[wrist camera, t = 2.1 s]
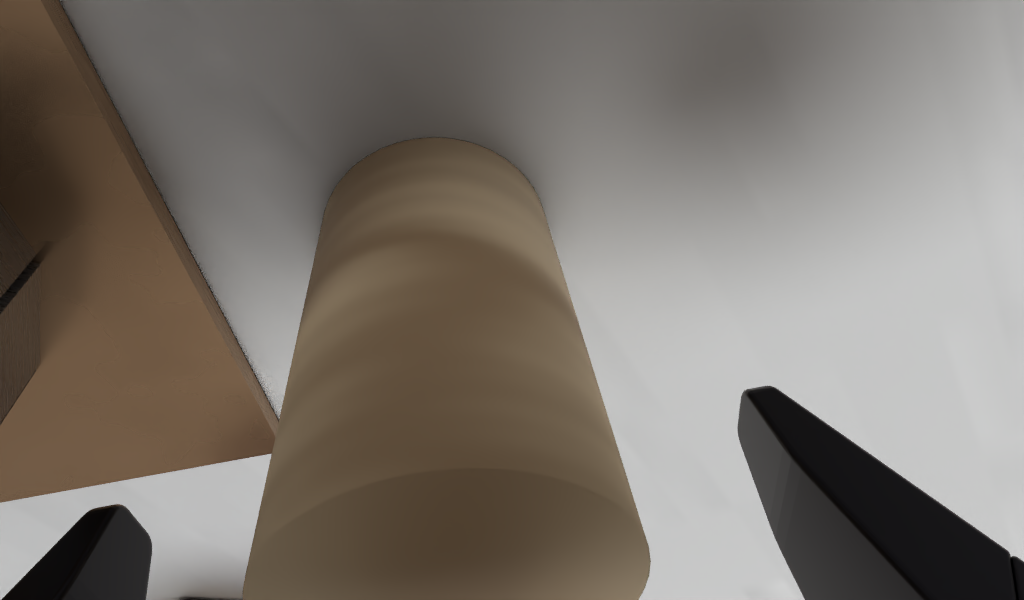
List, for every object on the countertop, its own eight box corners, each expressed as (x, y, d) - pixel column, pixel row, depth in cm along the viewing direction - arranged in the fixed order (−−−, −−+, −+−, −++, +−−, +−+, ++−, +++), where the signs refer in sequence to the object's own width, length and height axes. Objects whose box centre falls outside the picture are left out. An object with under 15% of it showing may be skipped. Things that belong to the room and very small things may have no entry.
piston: (357, 344, 16) (319, 713, 9) (288, 160, 13) (166, 517, 6) (556, 308, 16) (651, 651, 9) (533, 118, 13) (649, 430, 6)
